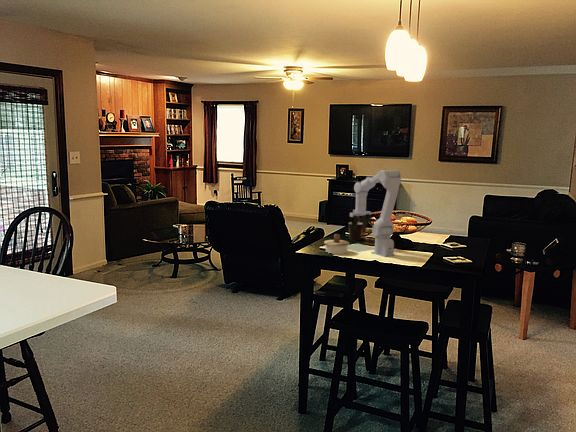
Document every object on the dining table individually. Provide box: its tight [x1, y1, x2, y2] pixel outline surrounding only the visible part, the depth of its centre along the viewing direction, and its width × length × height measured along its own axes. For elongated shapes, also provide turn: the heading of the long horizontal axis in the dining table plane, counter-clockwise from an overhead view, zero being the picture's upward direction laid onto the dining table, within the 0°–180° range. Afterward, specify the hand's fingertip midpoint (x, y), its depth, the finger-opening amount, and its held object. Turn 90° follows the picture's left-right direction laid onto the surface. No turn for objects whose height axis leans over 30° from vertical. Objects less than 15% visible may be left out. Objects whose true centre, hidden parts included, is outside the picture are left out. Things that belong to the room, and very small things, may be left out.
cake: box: [352, 209, 366, 235], centre depth 309 cm, size 11×9×18 cm
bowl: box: [325, 244, 348, 255], centre depth 258 cm, size 11×11×4 cm
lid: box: [323, 233, 350, 246], centre depth 257 cm, size 13×13×5 cm
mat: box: [347, 243, 375, 253], centre depth 269 cm, size 15×15×1 cm
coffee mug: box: [347, 221, 363, 242], centre depth 291 cm, size 12×9×10 cm
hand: (359, 228), depth 272 cm, fingers open, 7 cm apart
